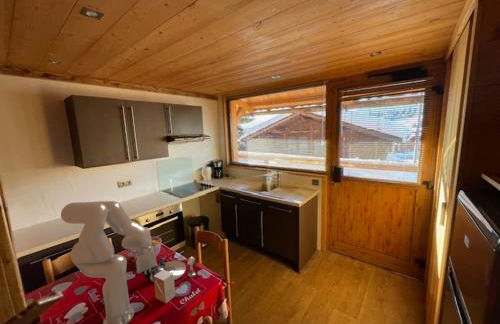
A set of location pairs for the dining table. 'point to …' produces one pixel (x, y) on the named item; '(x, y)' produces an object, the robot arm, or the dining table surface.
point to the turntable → (172, 268)
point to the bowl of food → (155, 245)
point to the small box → (164, 286)
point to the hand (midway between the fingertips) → (147, 278)
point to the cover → (157, 270)
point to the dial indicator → (191, 266)
